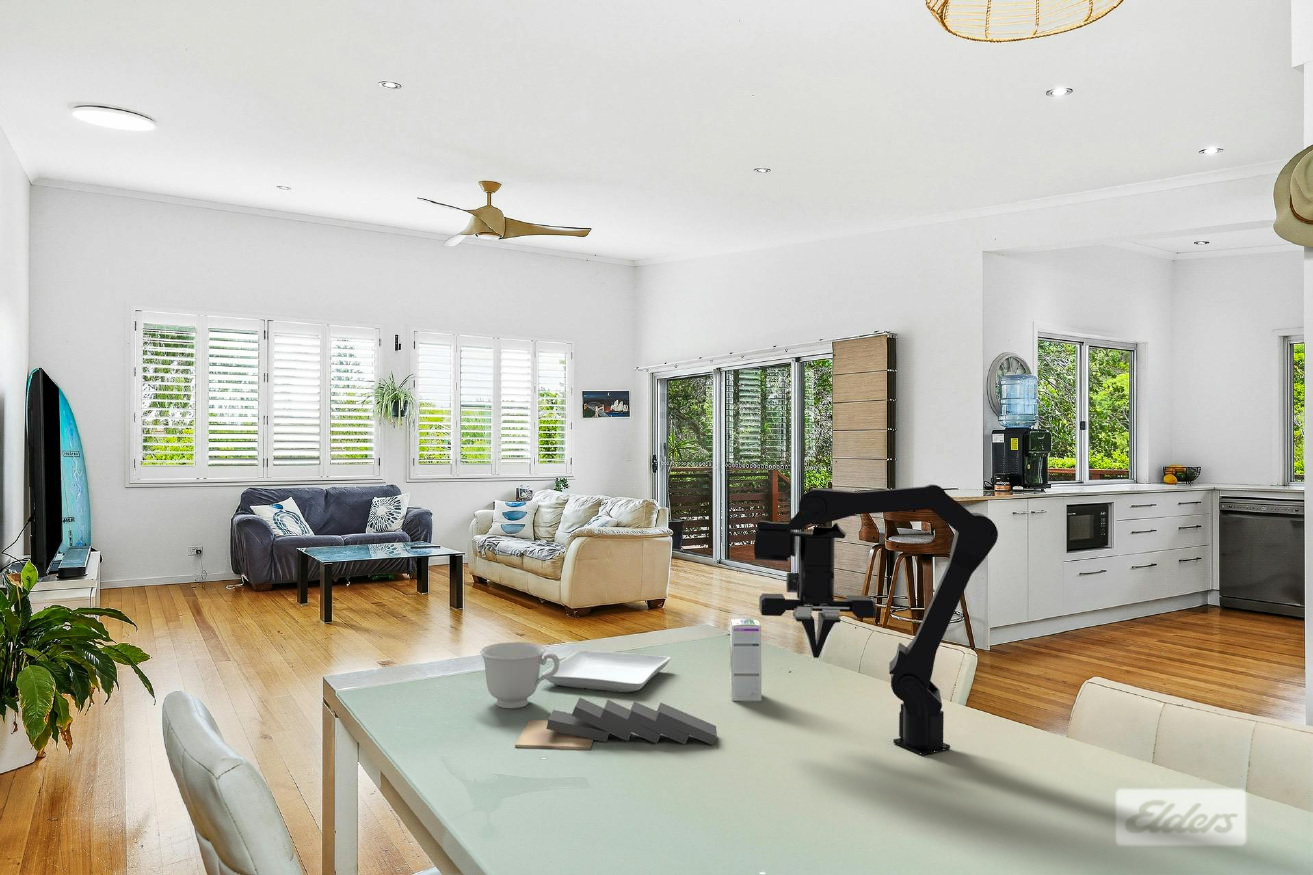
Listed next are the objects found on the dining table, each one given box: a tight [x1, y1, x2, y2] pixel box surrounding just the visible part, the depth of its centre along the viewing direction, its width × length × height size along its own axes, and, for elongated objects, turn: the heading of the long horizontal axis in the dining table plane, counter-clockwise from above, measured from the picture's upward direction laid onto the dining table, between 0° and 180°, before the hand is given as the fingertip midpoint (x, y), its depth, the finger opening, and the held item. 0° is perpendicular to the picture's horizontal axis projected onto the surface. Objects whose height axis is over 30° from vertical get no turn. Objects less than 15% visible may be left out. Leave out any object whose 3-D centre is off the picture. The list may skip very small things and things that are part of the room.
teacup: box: [479, 641, 560, 709], centre depth 156 cm, size 12×15×10 cm
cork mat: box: [514, 719, 595, 750], centre depth 139 cm, size 12×12×1 cm
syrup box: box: [729, 618, 763, 702], centre depth 162 cm, size 6×6×14 cm
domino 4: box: [628, 701, 690, 745], centre depth 139 cm, size 2×5×10 cm
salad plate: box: [541, 650, 671, 693], centre depth 173 cm, size 21×21×3 cm
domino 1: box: [546, 709, 610, 743], centre depth 139 cm, size 2×5×10 cm
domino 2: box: [571, 697, 632, 742], centre depth 139 cm, size 2×5×10 cm
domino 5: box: [656, 702, 718, 746], centre depth 138 cm, size 2×5×10 cm
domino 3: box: [600, 699, 662, 744], centre depth 139 cm, size 2×5×10 cm
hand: (815, 657), depth 141 cm, fingers closed
